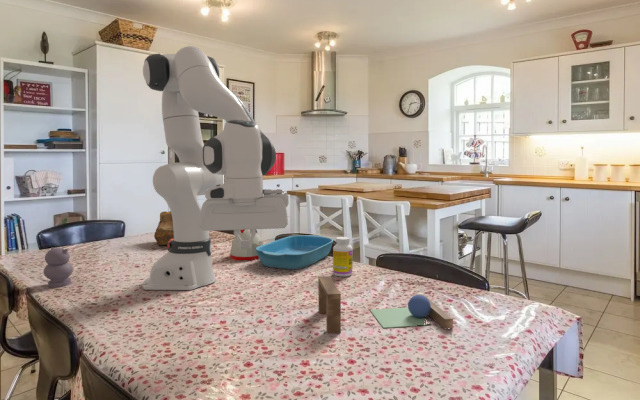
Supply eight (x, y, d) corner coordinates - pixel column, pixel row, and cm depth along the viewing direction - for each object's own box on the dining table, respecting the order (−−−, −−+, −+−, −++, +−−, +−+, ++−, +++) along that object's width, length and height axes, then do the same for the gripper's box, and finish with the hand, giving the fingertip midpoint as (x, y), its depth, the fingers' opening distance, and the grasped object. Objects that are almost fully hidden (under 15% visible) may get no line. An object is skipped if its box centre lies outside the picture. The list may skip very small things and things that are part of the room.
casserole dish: (298, 275, 147) (298, 255, 147) (245, 268, 157) (245, 249, 157) (341, 253, 180) (341, 237, 179) (295, 248, 190) (295, 233, 189)
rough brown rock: (142, 246, 200) (139, 215, 197) (171, 237, 213) (169, 208, 211) (174, 254, 187) (171, 221, 184) (203, 244, 201) (201, 213, 198)
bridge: (327, 333, 98) (327, 294, 97) (318, 311, 113) (318, 276, 112) (340, 332, 99) (340, 293, 98) (329, 310, 113) (329, 276, 112)
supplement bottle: (351, 277, 143) (351, 240, 142) (331, 276, 145) (331, 239, 143) (353, 272, 150) (353, 236, 148) (334, 271, 151) (334, 235, 150)
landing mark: (383, 328, 101) (383, 327, 101) (369, 310, 113) (369, 309, 113) (431, 324, 103) (431, 324, 103) (413, 307, 115) (413, 306, 115)
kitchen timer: (271, 255, 177) (270, 219, 175) (248, 262, 165) (248, 224, 164) (246, 251, 184) (245, 217, 183) (223, 258, 173) (222, 221, 171)
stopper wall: (444, 329, 100) (445, 319, 100) (416, 303, 118) (416, 294, 118) (452, 328, 100) (453, 318, 100) (422, 303, 118) (423, 294, 118)
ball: (436, 301, 105) (430, 323, 105) (429, 295, 110) (423, 315, 111) (414, 296, 105) (408, 317, 105) (408, 289, 110) (403, 310, 111)
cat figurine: (38, 286, 135) (35, 249, 134) (60, 279, 143) (58, 244, 141) (57, 289, 132) (55, 251, 131) (79, 282, 140) (77, 246, 138)
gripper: (287, 188, 104) (288, 243, 106) (201, 189, 101) (203, 246, 103) (289, 190, 98) (290, 249, 100) (197, 191, 95) (200, 252, 96)
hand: (245, 248), depth 101 cm, fingers closed
